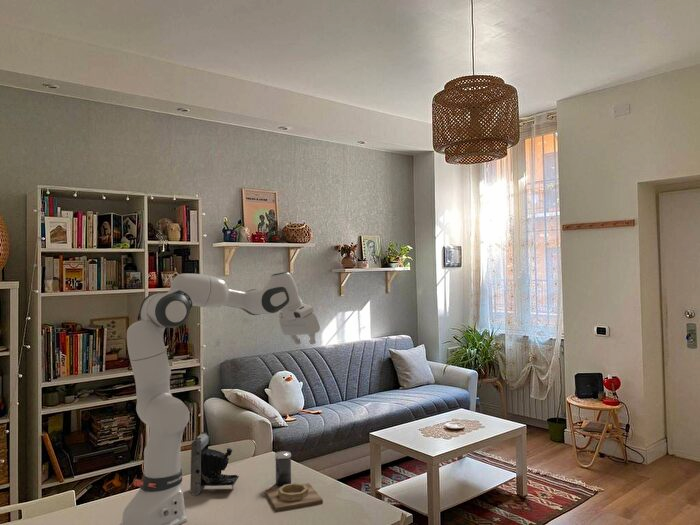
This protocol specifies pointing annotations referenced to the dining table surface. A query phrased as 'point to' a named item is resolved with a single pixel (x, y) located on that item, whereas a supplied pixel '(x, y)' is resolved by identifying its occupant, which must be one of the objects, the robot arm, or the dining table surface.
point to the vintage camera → (208, 466)
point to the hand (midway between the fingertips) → (305, 343)
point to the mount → (293, 496)
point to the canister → (283, 468)
